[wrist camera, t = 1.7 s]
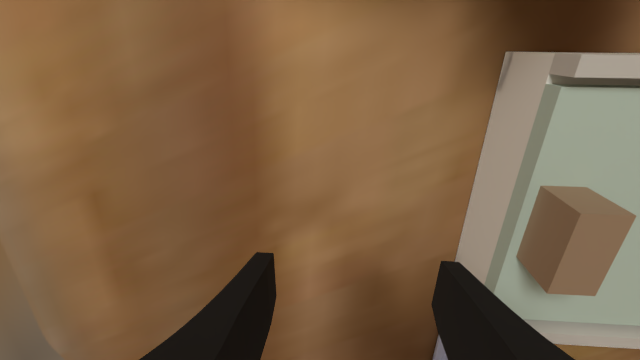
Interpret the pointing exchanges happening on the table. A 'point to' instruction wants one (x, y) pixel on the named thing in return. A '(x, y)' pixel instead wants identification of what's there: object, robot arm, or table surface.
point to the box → (506, 157)
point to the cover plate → (586, 159)
